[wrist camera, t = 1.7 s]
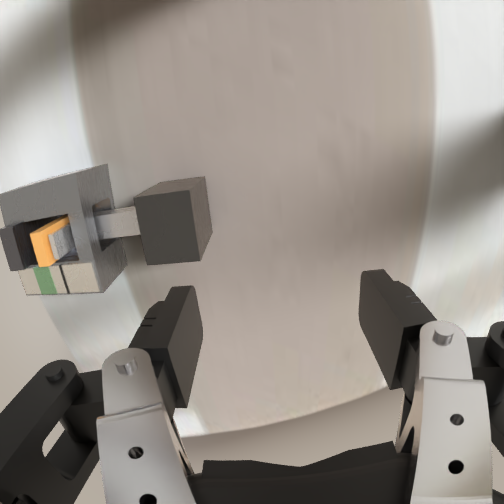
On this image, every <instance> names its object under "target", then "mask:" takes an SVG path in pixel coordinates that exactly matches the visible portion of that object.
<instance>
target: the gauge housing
mask: <svg viewBox="0 0 504 504" xmlns="http://www.w3.org/2000/svg"><path fill="white" fill-rule="evenodd" d="M0 206H1V211H2V215H3V219H4V223H5V227H3V228H1V229H0V237H1V240H2V244H3V248H4V251H5V254H6V257H7V261H8V264H9V267H10V270H11V271H18V272H19V275H20V278H21V281H22V284H23V287H24V290H25V292H26V295H57V294H84V293H104V292H105V291H106V289H107V288H108V287H109V286H110V285H111V283H112V282H113V281H114V280H115V279H116V278H117V277H118V275H119V274H120V273H121V272H122V271H123V270H124V268H125V267H126V266H127V261H126V256H125V252H124V248H123V244H122V239H121V237H115V238H107V239H98V235H97V230H96V226H95V222H94V217H93V213H94V212H100V211H106V210H112V209H115V206H114V200H113V195H112V189H111V184H110V178H109V172H108V165H107V164H104V165H100V166H95V167H91V168H87V169H82V170H78V171H74V172H70V173H66V174H62V175H58V176H55V177H51V178H47V179H44V180H40V181H37V182H33V183H30V184H27V185H24V186H21V187H18V188H16V189H13V190H10V191H7V192H4V193H2V194H0ZM65 214H68V217H69V221H70V226H71V230H72V234H73V238H74V242H75V246H76V247H75V248H73V249H72V250H71V251H69V252H68V253H67V254H65V255H64V256H63V257H61V258H60V259H58V260H57V261H56V262H55V263H53V264H52V265H51V266H47V267H39V265H38V261H37V258H36V255H35V251H34V248H33V244H32V241H31V237H30V233H32V232H34V231H36V230H37V229H39V228H41V227H43V226H45V225H46V224H48V223H50V222H52V221H54V220H56V219H57V218H59V217H61V216H63V215H65Z"/></svg>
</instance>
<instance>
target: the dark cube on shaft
mask: <svg viewBox="0 0 504 504" xmlns="http://www.w3.org/2000/svg"><path fill="white" fill-rule="evenodd" d="M134 204H135V206H132V207H125V208H119V209H112V210H106V211H100V212H94V213H93V217H94V222H95V226H96V230H97V235H98V239H107V238H115V237H124V236H132V235H141V240H142V244H143V249H144V253H145V258H146V262H147V265H158V264H170V263H182V262H194V261H201V258H202V256H203V254H204V251H205V249H206V247H207V244H208V242H209V239H210V237H211V235H212V226H211V218H210V211H209V204H208V196H207V189H206V181H205V176H204V177H196V178H188V179H181V180H174V181H167V182H160V183H158V184H157V185H155V186H153V187H151V188H149V189H148V190H146V191H144V192H142V193H141V194H139V195H137V196H135V197H134ZM48 237H49V241H50V244H51V248H52V252H53V255H54V259H60V258H61V257H63V256H64V255H65V254H67V253H68V252H69V251H71V250H72V249H73V248H75V247H76V246H75V242H74V238H73V234H72V230H71V226H70V222H69V223H67V224H66V225H64V226H62V227H61V228H59V229H57V230H56V231H54V232H52V233H51V234H49V235H48Z"/></svg>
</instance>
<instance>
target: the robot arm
mask: <svg viewBox="0 0 504 504" xmlns="http://www.w3.org/2000/svg"><path fill="white" fill-rule="evenodd" d="M359 321H360V326H361V328H362V330H363V332H364V334H365V337H366V339H367V341H368V343H369V345H370V347H371V349H372V351H373V354H374V356H375V358H376V360H377V362H378V364H379V367H380V369H381V371H382V373H383V375H384V378H385V380H386V382H387V384H388V387H389V389H390V390H393V389H398V388H403V389H404V395H403V399H402V404H401V411H400V418H399V425H398V431H397V437H396V442H395V446H394V444H393V441H390V442H386V443H382V444H377V445H372V446H368V447H362V448H357V449H352V450H348V451H345V452H343V453H340V454H338V455H335V456H332V457H330V458H327V459H324V460H321V461H318V462H316V463H313V464H310V465H306V466H301V467H295V466H287V465H278V464H272V463H265V462H259V461H252V460H241V461H239V460H238V461H214V460H211V461H210V460H204V463H203V470H202V473H198V474H194V471H193V469H192V467H191V464H190V462H189V459H188V457H187V454H186V451H185V449H184V446H183V443H182V441H181V438H180V435H179V432H178V429H177V426H176V424H175V421H174V419H173V414H174V410H175V408H187V406H188V402H189V397H190V393H191V388H192V384H193V379H194V375H195V371H196V366H197V362H198V358H199V353H200V349H201V345H202V340H203V327H202V321H201V316H200V311H199V307H198V301H197V296H196V291H195V288H194V286H178V287H172V288H171V289H170V291H169V293H168V295H167V297H166V299H165V301H158V302H157V303H156V304H155V305H153V306H152V307H151V308H150V309H149V310H148V312H147V313H146V315H145V317H144V320H143V321H142V323H141V324H140V327H139V328H138V330H137V332H136V334H135V336H134V338H133V339H132V341H131V343H130V345H129V347H128V348H126V349H122V350H119V351H117V352H115V353H113V354H111V355H110V356H109V357H108V358H107V359H106V360H105V361H104V363H103V365H102V370H97V371H91V372H85V373H79V372H78V370H77V368H76V366H75V365H74V363H73V362H71V361H68V360H57V361H54V362H51V363H49V364H47V365H45V366H44V367H43V368H41V369H40V370H39V371H38V372H37V374H36V375H35V376H34V377H33V378H32V379H31V380H30V381H29V382H28V383H27V384H26V385H25V386H24V387H23V389H22V390H21V391H20V392H19V393H18V394H17V395H16V397H15V398H14V399H13V400H12V401H11V402H10V403H9V404H8V405H7V406H6V408H5V409H4V410H3V411H2V412H1V413H0V504H74V502H75V500H76V499H77V497H78V495H79V493H80V492H81V490H82V488H83V486H84V485H85V483H86V481H87V480H88V478H89V476H90V474H91V473H92V471H93V469H94V468H95V466H96V464H97V462H98V461H99V459H100V465H101V472H102V479H103V486H104V492H105V498H106V504H504V494H502V493H500V492H498V491H496V490H493V489H492V445H491V441H492V443H493V444H494V445H495V446H496V447H497V449H498V450H499V452H500V453H501V454H502V455H503V457H504V321H501V322H496V323H494V324H493V325H492V326H491V327H490V330H489V333H488V336H487V337H466V334H465V332H464V331H463V330H462V329H461V328H460V327H459V326H457V325H456V324H454V323H451V322H447V321H437V319H436V318H435V317H434V316H433V315H432V313H431V312H430V311H429V310H428V309H427V307H426V306H425V305H424V304H423V303H421V300H420V299H419V298H418V297H417V296H416V294H415V293H414V292H413V291H412V290H411V289H410V287H408V286H406V285H405V284H403V283H401V282H399V281H393V280H392V278H391V277H390V276H389V275H388V274H387V273H386V271H385V270H384V269H379V270H370V271H363V272H362V274H361V284H360V300H359ZM58 421H60V423H61V424H62V426H63V427H64V429H65V430H64V432H63V433H62V435H61V436H60V437H59V439H58V440H57V442H56V443H55V444H54V446H53V447H52V449H51V450H50V451H49V453H48V454H47V456H46V457H44V455H43V452H42V445H43V442H44V440H45V439H46V437H47V436H48V435H49V433H50V432H51V431H52V429H53V428H54V427H55V425H56V424H57V422H58Z"/></svg>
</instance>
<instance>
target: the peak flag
mask: <svg viewBox="0 0 504 504" xmlns="http://www.w3.org/2000/svg"><path fill="white" fill-rule="evenodd" d="M69 222H70V221H69V217H68V214H65V215H63V216H61V217H59V218H57V219H56V220H54V221H52V222H50V223H48V224H46V225H45V226H43V227H41V228H39V229H37V230H36V231H34V232H32V233H30V237H31V241H32V244H33V248H34V251H35V255H36V258H37V261H38V265H39V267H47V266H51V265H52V264H53V263H55V262H56V261H57V260H58V259H54V255H53V252H52V248H51V244H50V241H49V237H48V235H49V234H51V233H52V232H54V231H56V230H57V229H59V228H61V227H62V226H64V225H66V224H67V223H69Z"/></svg>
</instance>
